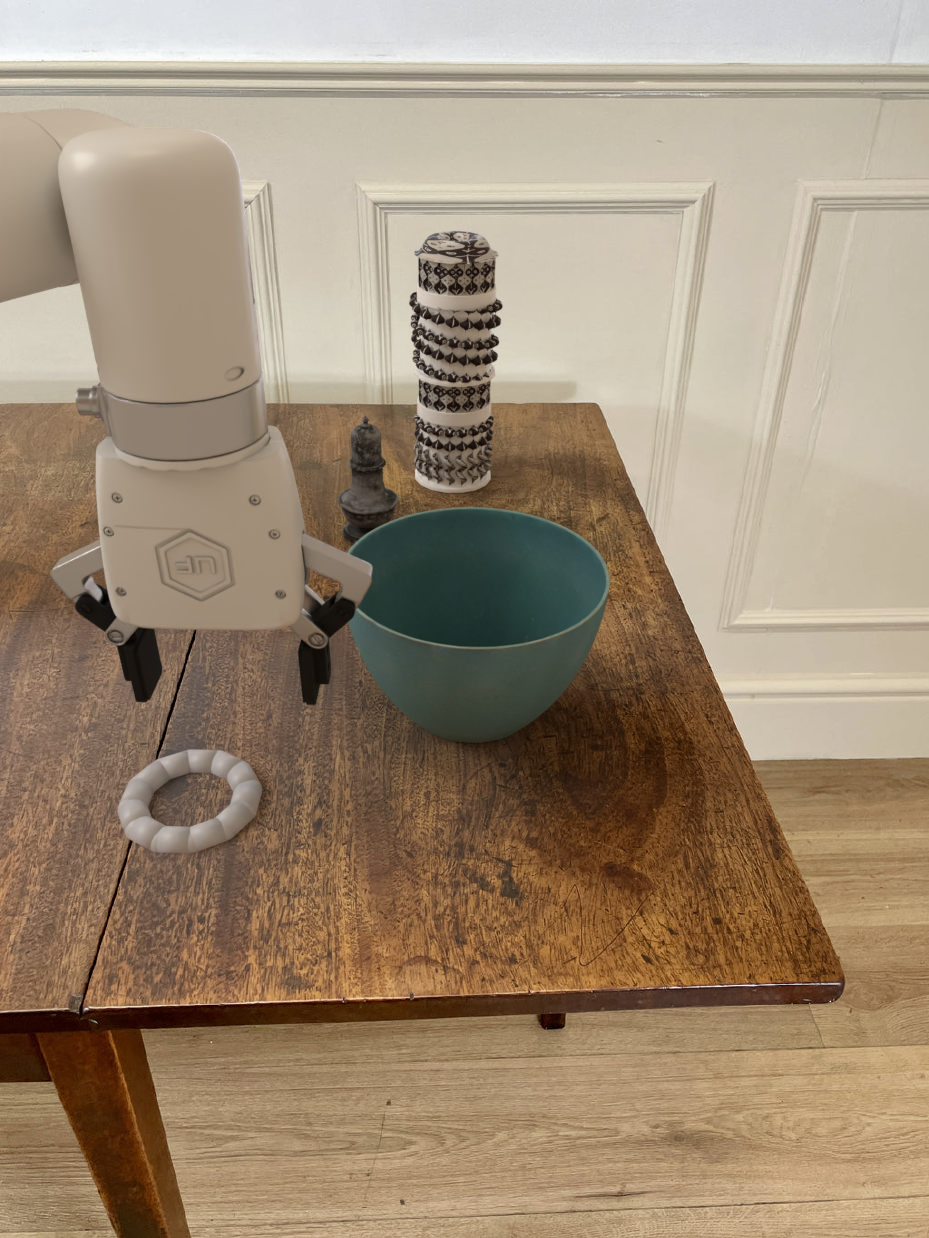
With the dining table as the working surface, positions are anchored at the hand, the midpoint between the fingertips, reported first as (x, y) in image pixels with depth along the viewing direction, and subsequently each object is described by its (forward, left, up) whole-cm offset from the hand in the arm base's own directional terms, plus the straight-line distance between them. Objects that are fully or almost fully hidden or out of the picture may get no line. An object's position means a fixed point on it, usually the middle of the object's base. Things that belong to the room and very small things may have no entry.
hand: (231, 689), depth 56 cm
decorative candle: (+12, +51, -10) cm, 54 cm away
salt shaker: (+4, +38, -10) cm, 40 cm away
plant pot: (+14, +11, -10) cm, 21 cm away
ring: (-4, 0, -9) cm, 10 cm away
